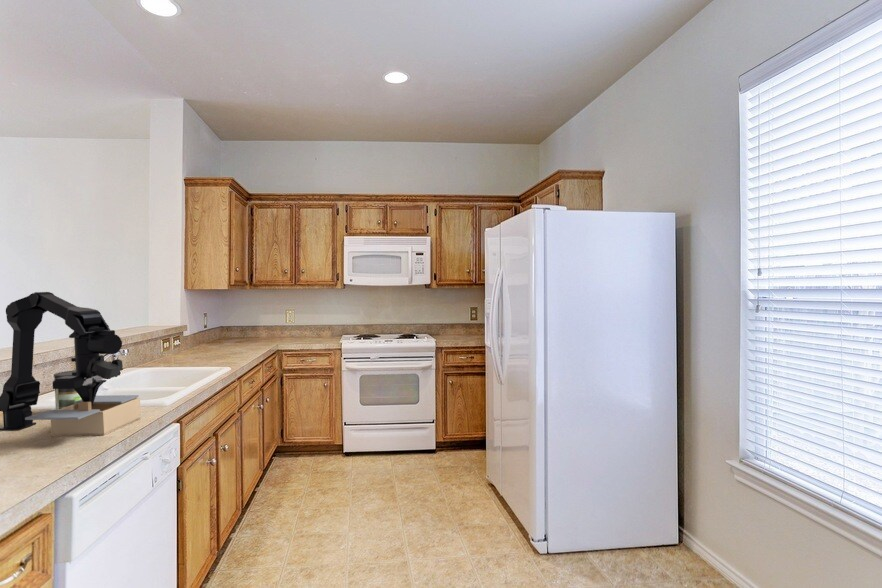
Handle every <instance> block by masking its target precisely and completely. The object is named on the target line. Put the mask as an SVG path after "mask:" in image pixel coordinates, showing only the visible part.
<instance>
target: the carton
mask: <svg viewBox="0 0 882 588" xmlns="http://www.w3.org/2000/svg"><path fill="white" fill-rule="evenodd" d="M91 408H92V409H100V412H97V413H94V414H92V415H89V416H86V417H84V418H81V419H78V420H50V429H51V430H50V431H51V432H50V433H51V436H52V437H57V436H58V437H59V436H60V437H61V436H63V437H64V436H67V437H68V436H69V437H71V436H73V437H75V436H76V437H78V436H79V437H80V436H84V437H85V436H92V437H93V436H106V435H108V434H111V433H113V432H115V431H117V430H119V429H122V428H125V427H126V426H128V425H130V424H133V423H135V422H137V421H140V420H141V419H142V418H141V398H140V397H137V398H135V399H132V400H129V401H127V402H124V403H109V404H93V405H92V406H91ZM58 410H78V404H74V405H71V406H68V407H64V408H61V409H58Z"/></svg>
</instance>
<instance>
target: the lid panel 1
mask: <svg viewBox="0 0 882 588" xmlns="http://www.w3.org/2000/svg"><path fill="white" fill-rule="evenodd" d="M97 412H100V409H92V408H91V402H79V403H78V410H56V409H48V410H44V411H41V412H39V413H35V414H32V416H29V417H26V418H25V420H33V421H35V420H36V421H37V420H39V421H40V420H41V421H44V420H45V421H47V420H49V421H51V420H78V419H81V418H84V417H86V416H89V415H92V414H94V413H97Z"/></svg>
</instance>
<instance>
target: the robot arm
mask: <svg viewBox="0 0 882 588" xmlns="http://www.w3.org/2000/svg"><path fill="white" fill-rule="evenodd" d="M46 312H49V313H51V314H53V315H54V316H56V317H57V316H58V317H59V318H61V319H63V320H64V324H65V325H66V326H67V327H68V328H69V329H71V330H72V331H73V332H72V333H71V334H69V336H68V338H70V339H73V344H74V346H73V347H74V357H71V359H70V360H71V362H72V363H74V364H75V370H76V372H72V376H64V377H60V378H56V379H55V380H54V379H53V381H52V389H53V390H55V389H73V388H74V390H75V391H76V392H77V393H78V394H79V396H80V397H81V398H82V400H83V401H84V402H91V406H92V405H93V403H94V400H95V397H96V396H97V393H98V390H99V388H100V387H101V386H102V385H103V384H104V383H106V382H107V380H110V379H113V378H117V377H118V376H121V372H122V371H123V369H124V368H123V366H124V365H123V360H122V359H119V358H117V359H113V360H112V361H106V360H105V356H104V355H115V354H117V353H119V351H121V349H122V346H123V340H121V339H122V338H121V336H119V335H117V334H116V331H115V330H114V329H110V326H109V324H108V323H107V322H106V320H105V319H104V317H103V315H102V313H101V312H100V310H98V309H94V308H89V307H80V306H78V305H75V304H73V303H71V302H69V301H67V300H65V299H62V298H61V297H58V296H57V295H55V294H54V293H53V292H50V291H35V292H32V293H30V294H29V295H27V296H25V297H22V298H19V299H17V300H15V301H12V302H10V303H9V304H7V306H6V308H5V314H6V322H7V323H8V325H10V327H11V329H12V330H13V331H12V332H13V333H12V353H11V355H12V356H11V368H10V377H8V379H7V380H6V382H5V383H4V384H3V386H2V392H1V394H0V412H1V413H2V418H3V419H2V420H3V421H2V422H3V423H2V424H3V426H2V427H0V431H20V430H23V429H25V428H28V427H31V426H34V425H36V424H37V422H35V421H34V420H25V418H26V417H29V416H32V415H33V411H32V406H36V405H38V401H39V396H40V393H41V390H40V386H41V382H40V381H39V380H36V379H35V377H34V376H33V367H34V365H33V364H34V348H35V347H34V346H35V333H36V332H35V331H36V329H37V328H38V327H39V325H40V324H41V323H42V321H43V315H44V314H46ZM33 421H34V422H33Z"/></svg>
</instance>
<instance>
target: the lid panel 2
mask: <svg viewBox="0 0 882 588" xmlns="http://www.w3.org/2000/svg"><path fill="white" fill-rule="evenodd" d="M135 398H140V397H139V394H135V395H134V394H133V395H132V394H127V395H126V394H125V395H122V394H120V395H116V394H115V395H112V394H111V395H106V394H105V395H96V397H95V400H94V403H93V404H109V403H124V402H127V401H129V400H132V399H135ZM79 402H84V401H83V400H82V398H81V400H78V401H75V402H74V404H78V403H79Z"/></svg>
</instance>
